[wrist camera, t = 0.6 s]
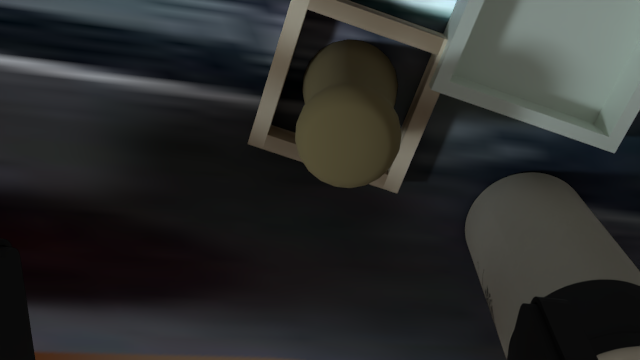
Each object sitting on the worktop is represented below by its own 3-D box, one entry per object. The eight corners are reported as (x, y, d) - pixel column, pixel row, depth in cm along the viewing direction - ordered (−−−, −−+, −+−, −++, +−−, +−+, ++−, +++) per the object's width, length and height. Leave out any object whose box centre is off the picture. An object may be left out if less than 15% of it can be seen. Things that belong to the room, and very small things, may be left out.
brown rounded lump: (287, 60, 38) (262, 111, 28) (379, 24, 37) (387, 64, 27) (323, 145, 40) (311, 222, 30) (411, 114, 39) (429, 182, 29)
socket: (395, 181, 41) (397, 193, 39) (252, 133, 40) (247, 144, 38) (455, 38, 37) (460, 44, 35) (298, -18, 36) (295, -14, 34)
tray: (595, 136, 39) (614, 153, 36) (425, 77, 38) (431, 89, 35) (697, -48, 34) (728, -46, 31) (506, -121, 33) (520, -124, 31)
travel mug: (576, 157, 39) (734, 329, 23) (590, 261, 42) (739, 479, 26) (453, 185, 41) (520, 368, 24) (475, 284, 44) (548, 507, 27)
